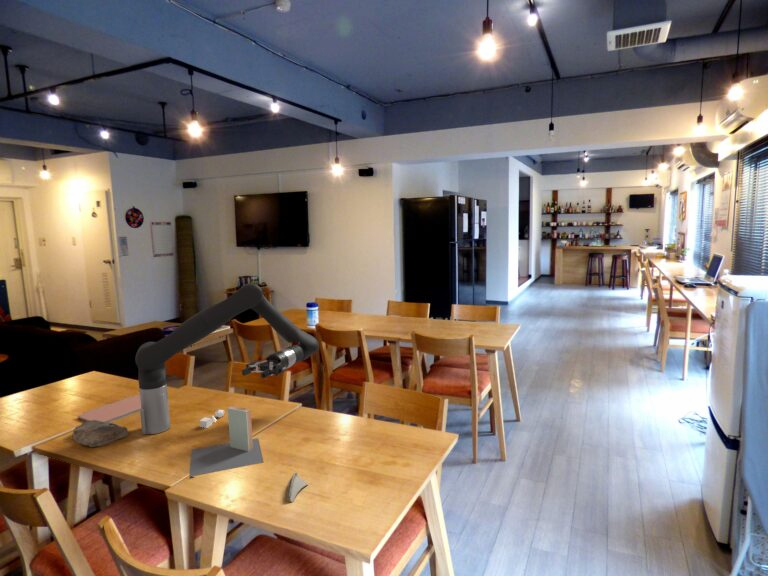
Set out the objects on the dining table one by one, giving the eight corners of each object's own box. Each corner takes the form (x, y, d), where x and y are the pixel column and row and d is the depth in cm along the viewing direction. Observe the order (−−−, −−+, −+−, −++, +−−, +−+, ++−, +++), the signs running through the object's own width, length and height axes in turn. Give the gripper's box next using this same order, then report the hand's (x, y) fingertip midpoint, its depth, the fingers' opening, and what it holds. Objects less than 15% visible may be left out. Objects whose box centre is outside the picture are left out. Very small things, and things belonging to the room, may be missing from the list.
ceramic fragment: (293, 476, 139) (293, 464, 139) (310, 475, 140) (310, 464, 139) (285, 505, 126) (284, 492, 125) (304, 504, 126) (303, 491, 125)
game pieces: (207, 429, 173) (206, 421, 172) (199, 428, 174) (198, 420, 173) (226, 416, 184) (225, 408, 184) (219, 415, 185) (218, 407, 184)
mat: (189, 478, 138) (189, 476, 138) (191, 451, 155) (191, 449, 155) (263, 464, 146) (263, 462, 146) (258, 439, 163) (258, 438, 163)
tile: (248, 451, 153) (246, 411, 151) (230, 446, 157) (227, 408, 155) (253, 448, 155) (250, 409, 153) (234, 444, 159) (232, 405, 157)
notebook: (141, 396, 207) (140, 392, 207) (163, 403, 199) (163, 399, 198) (76, 419, 184) (75, 414, 184) (98, 428, 176) (98, 423, 175)
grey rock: (64, 437, 168) (89, 451, 156) (62, 425, 167) (88, 437, 156) (104, 424, 179) (130, 436, 168) (103, 412, 179) (129, 423, 167)
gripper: (265, 349, 176) (235, 362, 162) (296, 352, 170) (267, 366, 155) (267, 367, 177) (237, 382, 163) (297, 371, 171) (269, 387, 157)
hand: (252, 374), depth 159 cm, fingers open, 8 cm apart
